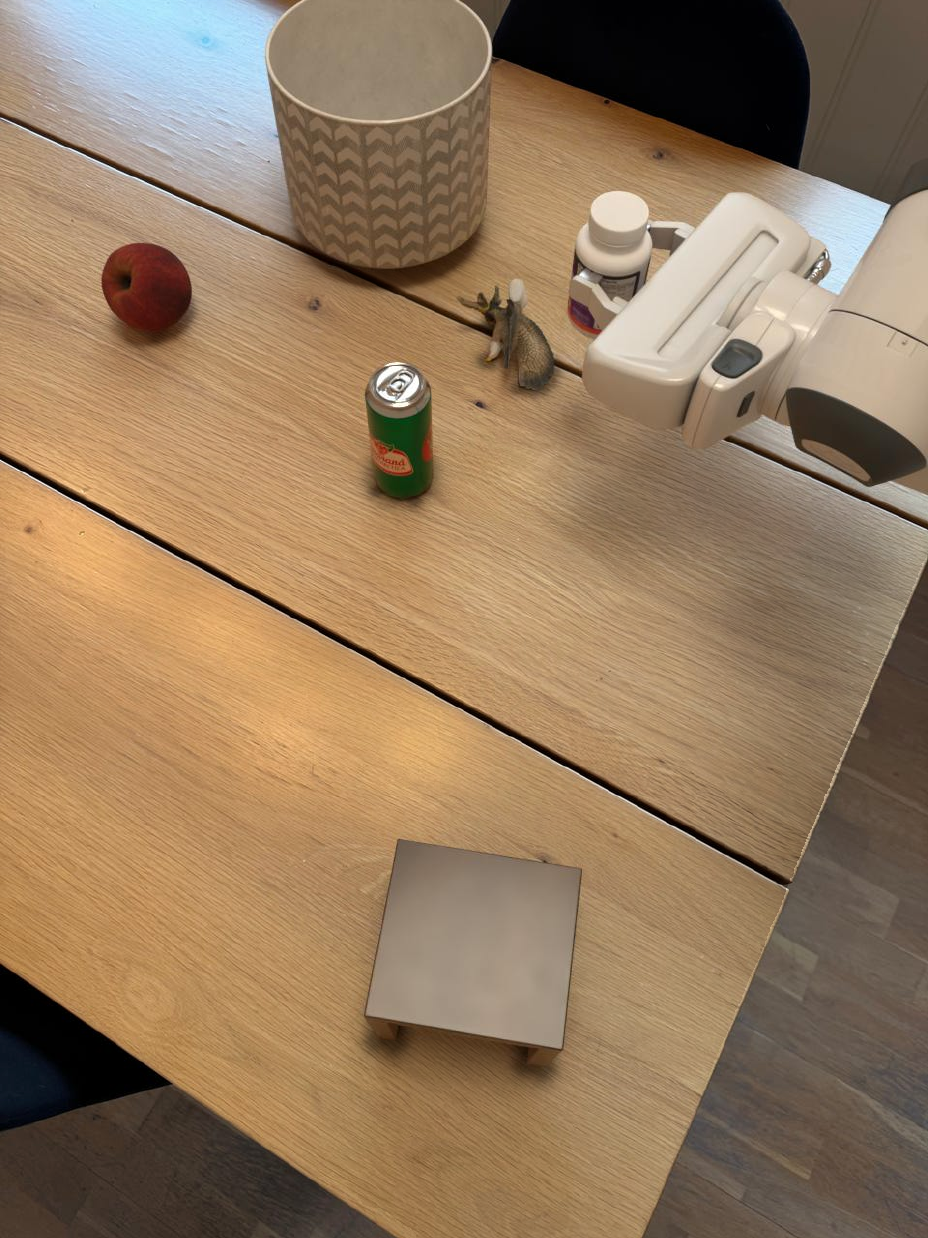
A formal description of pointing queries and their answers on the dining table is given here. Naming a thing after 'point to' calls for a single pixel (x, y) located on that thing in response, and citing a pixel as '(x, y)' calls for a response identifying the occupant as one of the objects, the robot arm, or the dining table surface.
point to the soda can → (400, 429)
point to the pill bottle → (612, 252)
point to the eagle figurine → (516, 335)
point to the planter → (383, 125)
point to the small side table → (476, 948)
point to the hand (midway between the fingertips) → (600, 253)
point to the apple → (146, 286)
